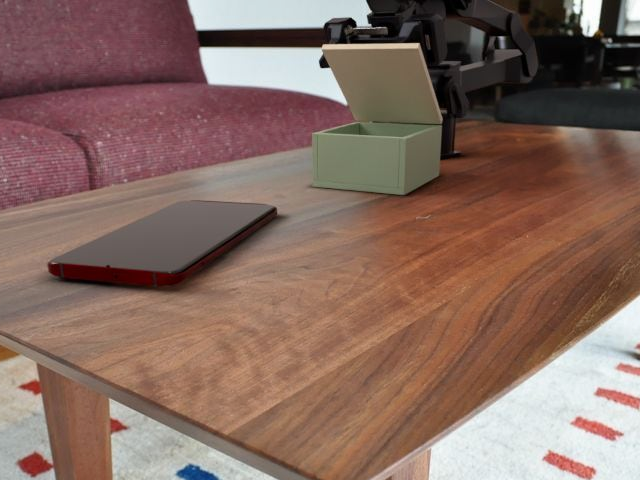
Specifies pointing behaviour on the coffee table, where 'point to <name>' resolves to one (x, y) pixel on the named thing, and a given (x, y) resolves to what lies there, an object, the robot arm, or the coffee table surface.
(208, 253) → the smartphone
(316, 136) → the case
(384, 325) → the coffee table surface
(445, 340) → the coffee table surface
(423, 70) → the cover
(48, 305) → the coffee table surface
